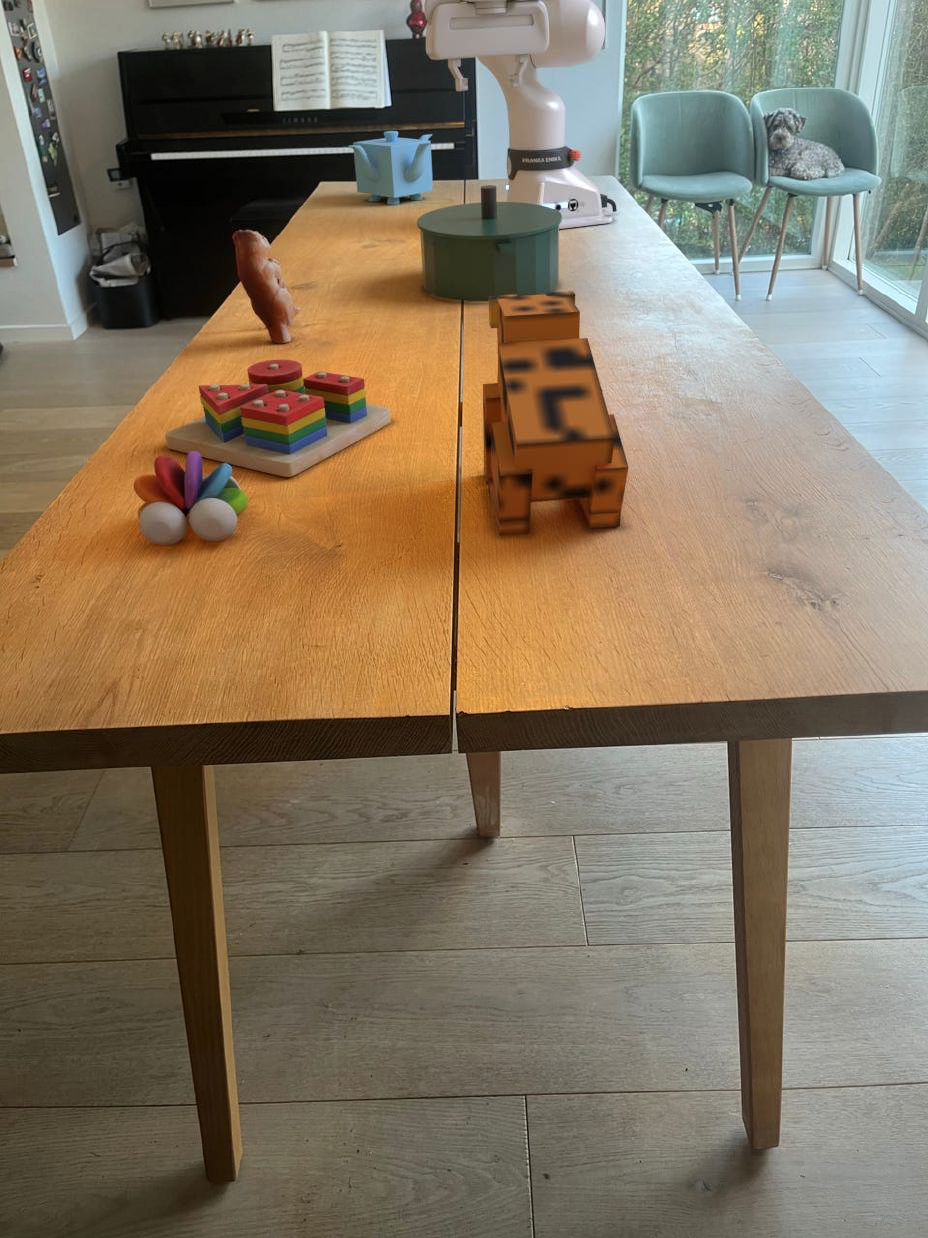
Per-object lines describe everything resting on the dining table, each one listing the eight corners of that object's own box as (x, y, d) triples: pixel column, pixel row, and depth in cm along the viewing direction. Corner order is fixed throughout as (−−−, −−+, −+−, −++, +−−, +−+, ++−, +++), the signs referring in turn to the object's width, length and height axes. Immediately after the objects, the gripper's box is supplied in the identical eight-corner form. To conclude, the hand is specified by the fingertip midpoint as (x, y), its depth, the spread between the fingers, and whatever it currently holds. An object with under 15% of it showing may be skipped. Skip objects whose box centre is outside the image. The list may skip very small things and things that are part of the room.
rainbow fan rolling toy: (151, 511, 92) (134, 438, 88) (255, 504, 92) (243, 431, 88) (133, 554, 85) (113, 476, 81) (246, 546, 85) (232, 468, 81)
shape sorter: (289, 479, 97) (281, 420, 94) (165, 449, 105) (153, 393, 102) (392, 422, 109) (388, 368, 106) (274, 398, 117) (267, 348, 114)
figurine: (308, 334, 140) (294, 223, 132) (278, 350, 134) (262, 234, 126) (272, 331, 142) (256, 221, 134) (241, 346, 136) (222, 232, 128)
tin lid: (497, 203, 168) (496, 166, 164) (592, 223, 153) (593, 184, 150) (389, 227, 156) (385, 188, 153) (480, 252, 141) (479, 210, 138)
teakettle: (362, 194, 243) (356, 128, 235) (438, 191, 242) (434, 125, 234) (352, 208, 227) (346, 137, 219) (433, 205, 226) (429, 134, 218)
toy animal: (502, 547, 83) (498, 361, 75) (479, 456, 100) (474, 296, 92) (625, 538, 84) (635, 353, 75) (582, 449, 101) (586, 289, 92)
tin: (535, 263, 172) (536, 205, 167) (578, 301, 150) (580, 235, 145) (413, 273, 169) (410, 214, 164) (438, 313, 147) (434, 247, 142)
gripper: (430, -10, 148) (435, 94, 155) (553, -15, 154) (553, 85, 161) (417, -9, 153) (422, 91, 160) (537, -14, 159) (536, 83, 166)
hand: (488, 88), depth 161 cm, fingers open, 8 cm apart
